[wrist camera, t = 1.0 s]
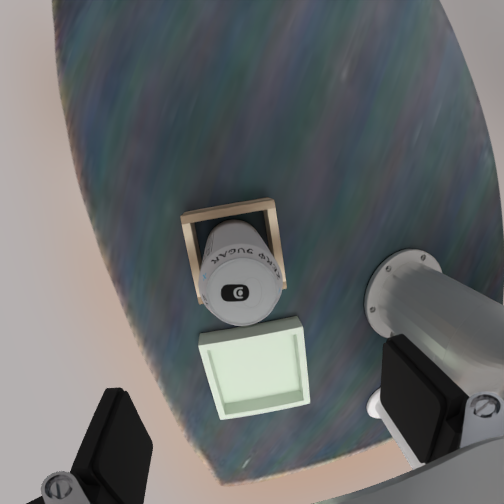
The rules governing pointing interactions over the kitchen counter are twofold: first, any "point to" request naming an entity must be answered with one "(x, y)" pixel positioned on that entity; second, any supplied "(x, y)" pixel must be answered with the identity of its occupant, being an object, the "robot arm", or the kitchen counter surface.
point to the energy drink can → (239, 274)
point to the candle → (391, 428)
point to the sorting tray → (256, 367)
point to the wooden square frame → (229, 210)
